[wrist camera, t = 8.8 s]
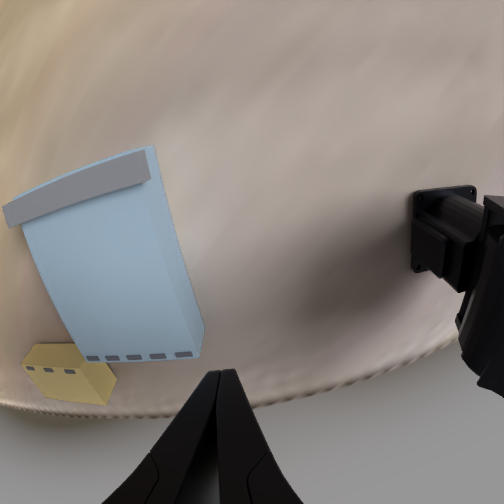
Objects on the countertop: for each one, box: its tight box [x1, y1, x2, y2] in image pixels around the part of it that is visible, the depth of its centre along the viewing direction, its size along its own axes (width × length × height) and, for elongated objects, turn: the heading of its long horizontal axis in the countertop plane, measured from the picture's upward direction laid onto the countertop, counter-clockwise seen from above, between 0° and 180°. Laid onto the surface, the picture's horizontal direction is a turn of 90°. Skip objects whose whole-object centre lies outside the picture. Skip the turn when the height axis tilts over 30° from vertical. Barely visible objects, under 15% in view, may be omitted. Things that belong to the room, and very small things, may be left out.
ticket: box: [2, 145, 205, 363], centre depth 18 cm, size 11×14×4 cm
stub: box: [21, 343, 117, 405], centre depth 22 cm, size 9×5×4 cm, turn 100°
